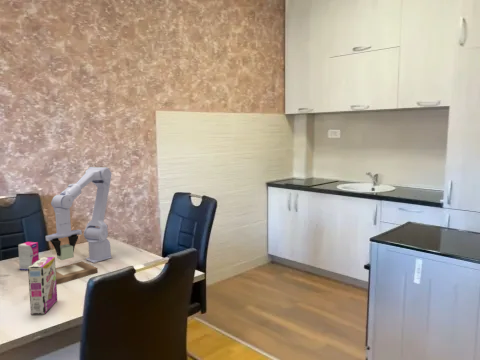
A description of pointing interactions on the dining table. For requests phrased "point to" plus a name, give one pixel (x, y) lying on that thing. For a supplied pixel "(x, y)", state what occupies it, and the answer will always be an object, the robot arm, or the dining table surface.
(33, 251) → the supplement box
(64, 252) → the sage cube
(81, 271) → the base board
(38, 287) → the candy bar box
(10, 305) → the dining table surface
